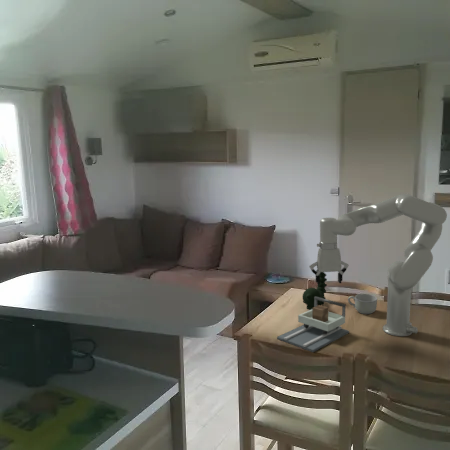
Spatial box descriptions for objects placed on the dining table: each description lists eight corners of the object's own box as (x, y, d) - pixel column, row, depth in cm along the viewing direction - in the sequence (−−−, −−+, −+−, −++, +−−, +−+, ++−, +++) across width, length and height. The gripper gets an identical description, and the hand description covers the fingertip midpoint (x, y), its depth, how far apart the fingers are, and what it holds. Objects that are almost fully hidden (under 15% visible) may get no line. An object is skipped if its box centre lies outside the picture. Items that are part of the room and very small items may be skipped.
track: (349, 332, 212) (349, 329, 212) (313, 352, 194) (313, 348, 193) (313, 321, 226) (313, 318, 225) (277, 339, 207) (277, 335, 207)
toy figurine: (313, 301, 259) (297, 311, 238) (315, 266, 258) (298, 274, 236) (330, 303, 255) (315, 314, 233) (332, 268, 253) (317, 276, 231)
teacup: (379, 310, 238) (379, 295, 237) (373, 317, 229) (373, 301, 228) (351, 306, 246) (352, 291, 244) (345, 312, 237) (345, 297, 235)
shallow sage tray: (345, 328, 212) (345, 303, 210) (328, 337, 203) (328, 311, 201) (315, 319, 224) (315, 295, 222) (298, 327, 215) (298, 303, 213)
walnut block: (321, 323, 209) (321, 310, 208) (312, 320, 212) (312, 307, 211) (328, 320, 212) (328, 307, 211) (318, 317, 216) (319, 305, 215)
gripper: (311, 248, 206) (311, 286, 209) (350, 246, 207) (350, 284, 209) (307, 245, 214) (308, 281, 217) (345, 243, 214) (345, 279, 217)
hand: (329, 283), depth 213 cm, fingers open, 9 cm apart
